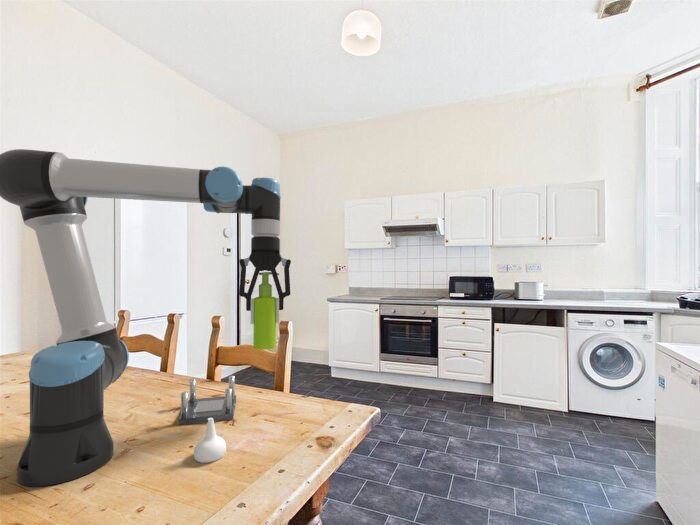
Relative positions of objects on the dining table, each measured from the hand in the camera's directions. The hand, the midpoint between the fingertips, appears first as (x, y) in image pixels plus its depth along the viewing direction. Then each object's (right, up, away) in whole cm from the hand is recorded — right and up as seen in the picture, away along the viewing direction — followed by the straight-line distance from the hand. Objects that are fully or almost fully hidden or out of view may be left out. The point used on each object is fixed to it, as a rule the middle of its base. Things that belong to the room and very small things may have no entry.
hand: (264, 322), depth 97 cm
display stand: (-15, -25, +2) cm, 29 cm away
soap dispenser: (0, -7, 0) cm, 7 cm away
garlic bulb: (-6, -24, -22) cm, 33 cm away
